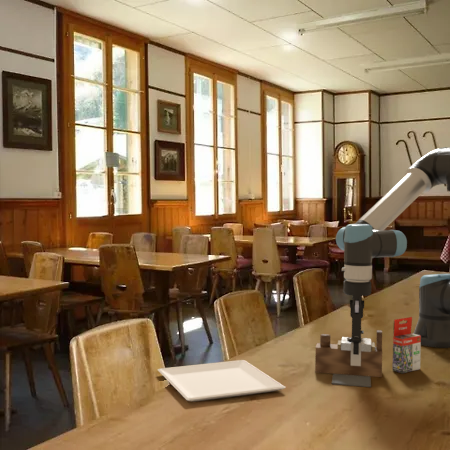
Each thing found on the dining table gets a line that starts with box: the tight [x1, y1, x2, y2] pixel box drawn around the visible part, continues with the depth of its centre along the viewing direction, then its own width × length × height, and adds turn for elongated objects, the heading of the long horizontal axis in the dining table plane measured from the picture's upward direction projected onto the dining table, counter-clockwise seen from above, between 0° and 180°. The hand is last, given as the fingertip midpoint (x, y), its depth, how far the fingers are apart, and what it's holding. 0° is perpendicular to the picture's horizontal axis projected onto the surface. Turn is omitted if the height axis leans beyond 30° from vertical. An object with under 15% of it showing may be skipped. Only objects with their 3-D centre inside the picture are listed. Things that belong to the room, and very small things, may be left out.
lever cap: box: [341, 336, 372, 352], centre depth 171 cm, size 8×7×3 cm
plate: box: [157, 359, 286, 402], centre depth 161 cm, size 26×26×2 cm
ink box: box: [391, 316, 422, 374], centre depth 174 cm, size 4×8×15 cm, turn 124°
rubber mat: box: [331, 373, 372, 388], centre depth 164 cm, size 10×8×1 cm
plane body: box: [314, 329, 383, 378], centre depth 172 cm, size 18×5×12 cm, turn 77°
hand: (355, 361), depth 171 cm, fingers open, 8 cm apart
